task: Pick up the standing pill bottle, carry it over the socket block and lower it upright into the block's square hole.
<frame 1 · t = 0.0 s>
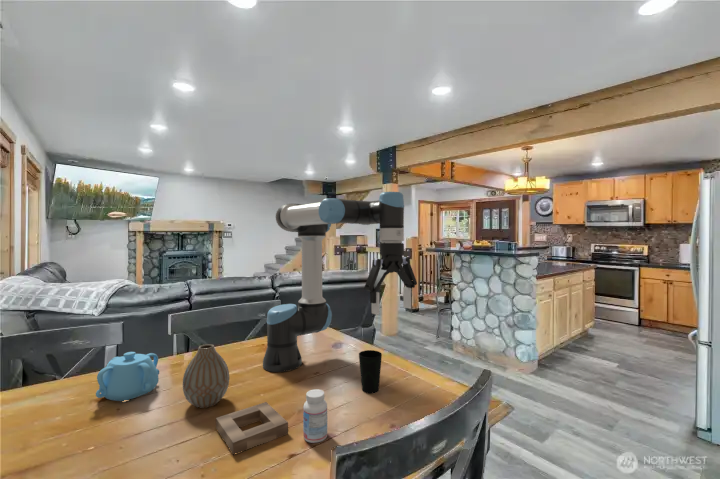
hand: (392, 310, 105), 28 cm above the table, fingers open, 13 cm apart
cup: (370, 390, 113), on the table
vase: (206, 403, 105), on the table
socket block: (251, 431, 89), on the table
decorative pot: (129, 394, 111), on the table
pill bottle: (315, 437, 87), on the table
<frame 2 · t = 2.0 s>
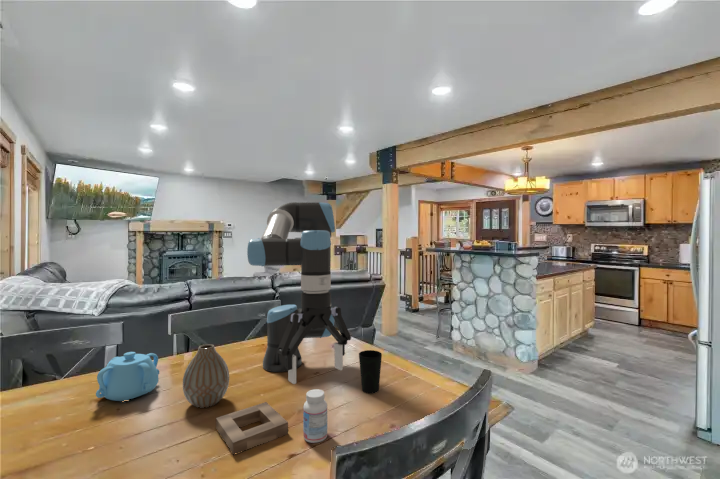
hand: (316, 375, 86), 16 cm above the table, fingers open, 13 cm apart
nothing on the table moved.
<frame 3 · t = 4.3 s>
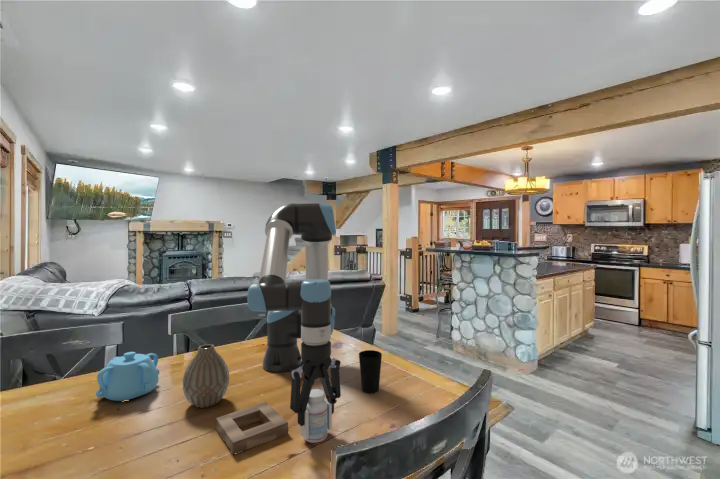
hand: (316, 431, 86), 1 cm above the table, fingers closed on pill bottle, 6 cm apart
pill bottle: (315, 437, 87), on the table, touching gripper
everything else where it was.
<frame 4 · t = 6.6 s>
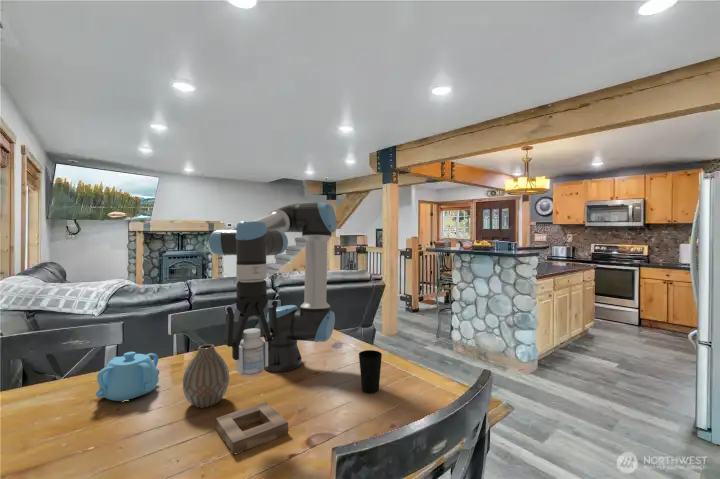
hand: (252, 368, 89), 17 cm above the table, fingers closed on pill bottle, 6 cm apart
pill bottle: (251, 374, 89), point 15 cm above the table, touching gripper
everything else where it was.
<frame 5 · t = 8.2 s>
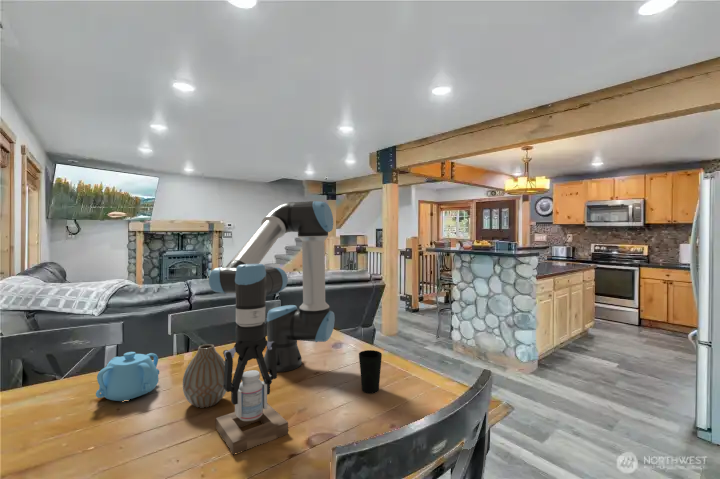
hand: (251, 411, 89), 5 cm above the table, fingers closed on pill bottle, 6 cm apart
pill bottle: (250, 416, 89), point 4 cm above the table, touching gripper
everything else where it was.
when the fingers open (4 cm above the table, at t = 9.2 s): pill bottle drops 2 cm, resting in socket block.
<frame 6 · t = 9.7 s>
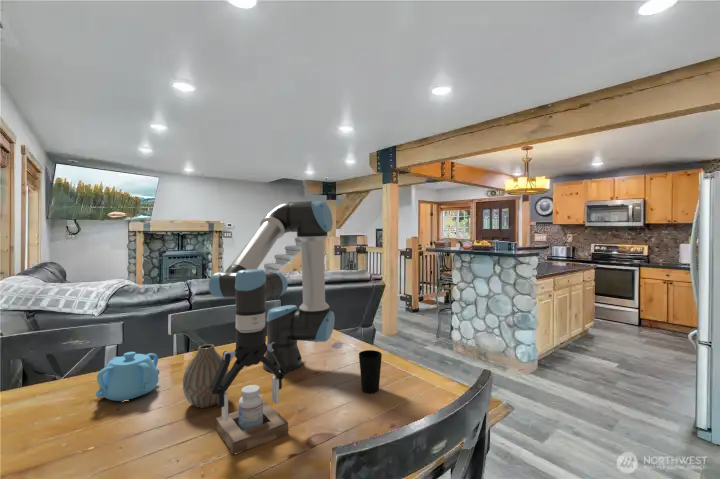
hand: (251, 409, 89), 6 cm above the table, fingers open, 13 cm apart
pill bottle: (250, 431, 90), resting in socket block
everything else where it was.
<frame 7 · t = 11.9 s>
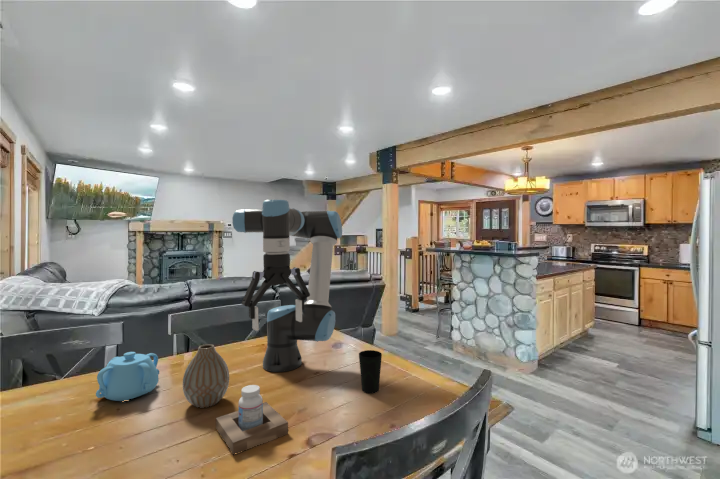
hand: (278, 325, 100), 25 cm above the table, fingers open, 13 cm apart
nothing on the table moved.
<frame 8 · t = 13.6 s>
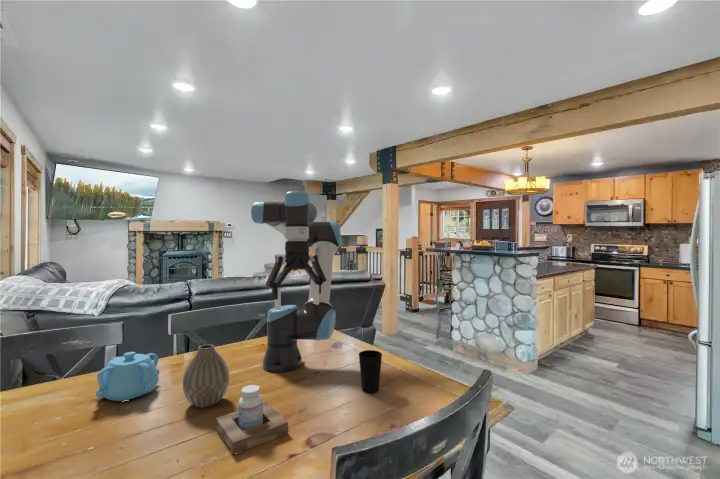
hand: (297, 306, 109), 29 cm above the table, fingers open, 13 cm apart
nothing on the table moved.
at the end: pill bottle 0.4 cm from the socket block (horizontally); pill bottle 0.4 cm off-centre on the socket block, point 0.0 cm above the socket block's base; pill bottle tilted 0° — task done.
